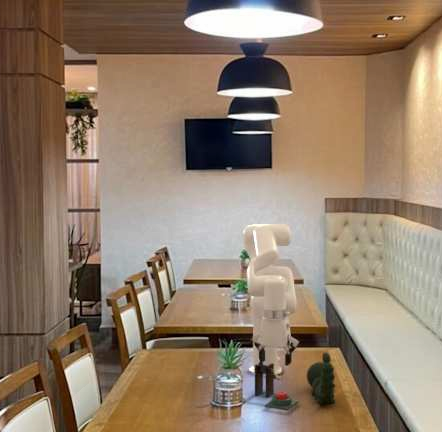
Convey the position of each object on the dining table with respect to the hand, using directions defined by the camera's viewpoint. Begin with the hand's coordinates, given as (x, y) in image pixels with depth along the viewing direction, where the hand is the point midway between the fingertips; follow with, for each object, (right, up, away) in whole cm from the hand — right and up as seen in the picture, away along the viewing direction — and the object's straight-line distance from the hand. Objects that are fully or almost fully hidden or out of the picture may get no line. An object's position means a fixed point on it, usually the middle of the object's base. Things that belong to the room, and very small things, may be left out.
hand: (275, 363), depth 230 cm
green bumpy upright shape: (+16, -11, -7) cm, 20 cm away
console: (+2, -11, -16) cm, 20 cm away
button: (+2, -8, -16) cm, 18 cm away
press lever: (-2, -4, -4) cm, 6 cm away
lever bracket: (-4, -11, -7) cm, 13 cm away
